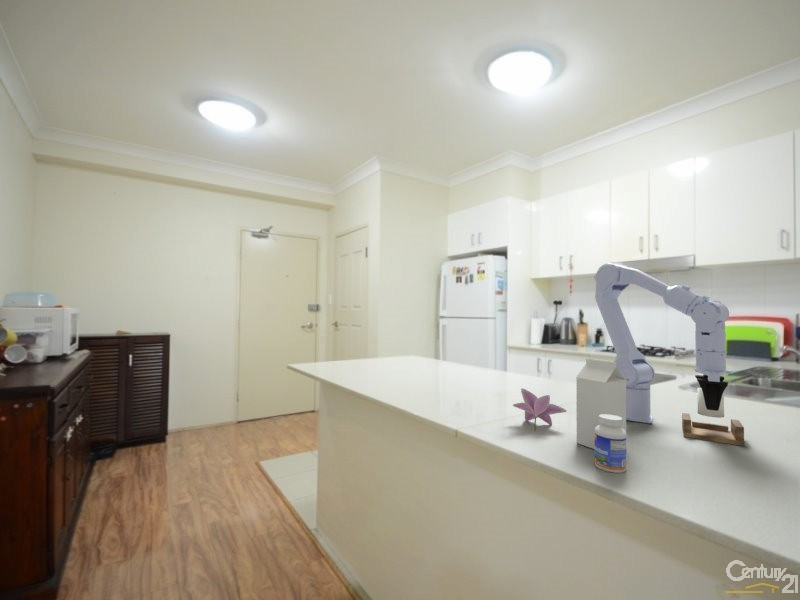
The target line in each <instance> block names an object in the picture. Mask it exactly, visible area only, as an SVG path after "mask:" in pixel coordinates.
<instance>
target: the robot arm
mask: <svg viewBox="0 0 800 600" xmlns="http://www.w3.org/2000/svg"><path fill="white" fill-rule="evenodd" d="M594 280H595V282H596V283H595V296H594V298H595V301H596V304H597V306H598V309H599V312H600V314H601V317H602V320H603V322H604V325H605V328H606V330H607V332H608V335H609V339H610V341H611V343H612V346H613V349H614V351H615V353H616V356H615V358H614V361H613V362H616V368H617V369H618V370H619V372H620V373H621V374H622V375H623V377H624V378H625V379H626V421H629V422H630V421H631V422H636V423H645V424H650V425H651V424H653V418H654V417H653V415H652V414H651V382H652V381H653V380H654V379H655V376H656V373H655V372H656V371H655V369H654V368H653V366H652V365H651V364H650V363H649V362H648V361H647V359H646V356H645V355H644V354H643V353H642V352H641V351H639V349H638V348H637V345H636V343H635V340H634V338H633V335H632V333H631V330H630V328H629V326H628V322H627V321H626V320H627V319H626V318H625V316H624V313H623V310H622V308H621V306H620V303H619V301H618V299H619V297H620V296H621V294H622V292H623V291H625V290H626V289H627V288H629V286H630V285H636V286H638V287H640V288H643V289H644V290H647V291H649V292H651V293H653V294H655V295H658V296H660V297H661V298H662V299H663V302H664V304H665V305H666V306H668V307H671V308H672V309H674V310H676V311H678V312H681V313H682V314H684V315H686V316H687V317H690V318H691V320H692V321H693V322H694V323H695V335H694V336H695V338H694V339H695V342H694V343H695V368H694V372H695V373H699V374H702V375H699V374H695V375H694V377H695V378H696V381H697V383H698V384H699V388H702V391H703V395H704V401H705V405H706V408H707V410H715V411H718V410H719V407H720V402H721V398H722V395H723V392H724V393H725V390H726V388H727V387H728V385H729V382H728V381H724V380H725V377H724V375H727V374H728V375H733V373H734V371H733V370H731V369H727V346H726V345H727V342H726V336H727V335H726V321H727V320H728V319H729V317H730V311H729V308H728V306H726V304H724V303H722V302H721V301H719V300H712V301H711V300H710V296H709V295H702V294H699V293H696V292H694V291H692V290H690V289H691V286H688V285H687V284H686V285H679V284H678V285H673V286H670V285H668V284H666V283H665V282H663V281H661V280H659V279H657V278H656V277H653V276H651V275H650V274H647V273H645V272H644V271H642V270H639V269H637V268H635V267H634V268H633V267H631V266H630V265H624V264H623V265H622V264H621V265H620V264H614V263H610V262H607V263H604V264H601V265H600V266H599V268H598V269H597V271H596V273H595V275H594Z"/></svg>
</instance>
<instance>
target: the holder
mask: <svg viewBox="0 0 800 600" xmlns="http://www.w3.org/2000/svg"><path fill="white" fill-rule="evenodd" d="M681 414H682V415H681V418H682V419H681V420H682V421H681V422H682V423H681V430H682V435H683V438H691V439H696V440H697V439H698V440H703V441H711V442H716V443H723V444H730V445H736V446H741V447H745V446H746V445H745V444H746V442H745V426H743V424H742V423H741V420H739V419H732V418H731V419H730V430H729V425H725V424H724V425H723V424H718V423H717V424H716V423H710V422H704V421H703V422H701V421H694V420H692V418H691V414H690V413H685V412H682V413H681Z"/></svg>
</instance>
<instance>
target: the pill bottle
mask: <svg viewBox="0 0 800 600" xmlns="http://www.w3.org/2000/svg"><path fill="white" fill-rule="evenodd" d="M599 423H600V425H598V426H596V427H595V449H594V456H593V457H594V458H593V459H594V465H595V467H597V468H598V469H599V470H601V471H604V472H607V473H617V474H618V473H619V474H620V473H621V474H622V473H624V472H626V470H627V431H626V432H625V430H624V429H622V428H621V426H622V425H623V420H622V418H621V417H619V416H616V415H610V414H601V415H599Z"/></svg>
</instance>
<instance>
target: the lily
mask: <svg viewBox="0 0 800 600" xmlns="http://www.w3.org/2000/svg"><path fill="white" fill-rule="evenodd" d="M520 393H521V395H522V399H523V402H518V403H513V404H512V406H513V407H514V408H517V409H520V410H522V411H524V420H525V421H526V422H529V421H533V420H534V426H533V427H534V429H533V430H534V432H536V427H537V422H536V421H537V419H538V418H539V419H540V420H542V421H543V422H545V423H547V424H548V425H549V426H552V425H553V421H552V418H551V415H555V414H561V413H562V414H563V413H566V412H567V410H566V409H565V408H563V407H561V406H559V405H557V404H555V403H554V404H553V403H550V402H551V397H550V394H546V395H543V396H541V397H537V396H536V395H535V394H534V393H533V392H531V391H529V390H527V389H525V388H521V389H520Z"/></svg>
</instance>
